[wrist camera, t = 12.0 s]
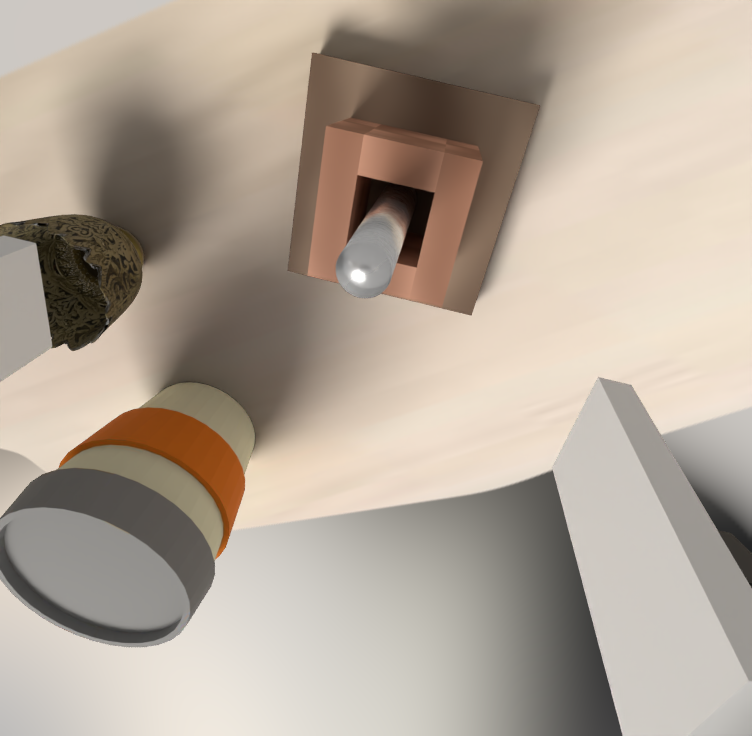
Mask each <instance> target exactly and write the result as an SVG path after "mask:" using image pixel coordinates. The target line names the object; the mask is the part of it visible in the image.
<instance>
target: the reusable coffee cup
mask: <svg viewBox="0 0 752 736" xmlns="http://www.w3.org/2000/svg"><path fill="white" fill-rule="evenodd" d="M254 445H255V432H254V427H253V424H252V422H251V420H250V417H249V416H248V414H247V413H246V411H245V410H244V409H243V408H242V407H241V405H240V404H239V403H238V402H237V401H236V400H234V399H233V398H232V397H230V396H229V395H228V394H226V393H224V392H223V391H221V390H219V389H217V388H214V387H212V386H209V385H205V384H201V383H194V382H184V383H177V384H174V385H172V386H169V387H167V388H166V389H164V390H163V391H161V392H160V393H159V394H157V395H156V396H155V397H153V398H152V399H150V400H149V401H148V402H146V403H145V404H144V405H142V406H141V407H140V408H138V409H133V410H131V411H128V412H125V413H123V414H121V415H120V416H118V417H117V418H115V419H114V420H112V421H111V422H110V423H108V424H107V425H106V426H104V427H103V428H101V429H100V430H99V431H97V432H96V433H95V434H93V435H92V436H90V437H89V438H88V439H86V440H85V441H84V442H82V443H81V444H79V445H78V446H77V447H75V448H74V449H73V450H71V451H70V452H68V453H67V455H66V456H65V457H64V459H63V460H62V461H61V463H60V465H59V468H58V469H57V470H54V471H51V472H48V473H45V474H42V475H41V476H40V477H38V478H36V479H35V480H33V481H32V482H30V484H29V485H28V486H27V487H26V488H25V489H24V491H23V492H22V493H21V494H20V495H19V497H18V498H17V499H16V500H15V501H14V502H13V504H12V505H11V506H10V507H9V508H8V510H7V511H6V512H5V513H4V514H3V516H2V517H1V518H0V579H1V581H2V582H3V583H4V584H5V586H6V587H7V588H8V589H9V590H10V592H11V593H12V594H13V595H14V596H15V597H17V598H18V599H19V600H20V601H21V602H22V603H23V604H24V605H25V606H27V607H28V608H29V609H31V610H32V611H34V612H35V613H37V614H38V615H39V616H41V617H42V618H44V619H46V620H47V621H49V622H51V623H53V624H54V625H56V626H58V627H60V628H62V629H64V630H66V631H68V632H71V633H73V634H75V635H78V636H81V637H84V638H87V639H89V640H92V641H96V642H100V643H105V644H109V645H115V646H123V647H147V646H154V645H159V644H162V643H164V642H167V641H170V640H172V639H173V638H175V637H176V636H177V635H179V634H180V633H181V632H182V630H183V629H184V627H185V626H186V625H187V623H188V622H189V620H190V619H191V617H192V616H193V614H194V613H195V611H196V609H197V608H198V606H199V604H200V603H201V601H202V600H203V598H204V597H205V595H206V593H207V592H208V590H209V589H210V587H211V584H212V582H213V579H214V575H215V562H214V561H215V559H216V558H217V557H219V556H220V554H221V553H222V552H223V550H224V549H225V548H226V545H227V542H228V539H229V536H230V533H231V530H232V527H233V524H234V521H235V518H236V515H237V512H238V509H239V506H240V503H241V500H242V497H243V494H244V490H245V477H244V474H245V471H246V468H247V465H248V463H249V460H250V457H251V454H252V451H253V448H254Z"/></svg>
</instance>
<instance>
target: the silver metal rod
mask: <svg viewBox="0 0 752 736" xmlns="http://www.w3.org/2000/svg"><path fill="white" fill-rule="evenodd" d="M416 203H417V191H416V189H415V188H413V187H408V186H404V185H399V184H395V183H391V182H390V183H389V184H388V185H387V186H386V187H385V189H384V190H383V192H382V193H381V195H380V196H379V197H378V199H377V200H376V202H375V203H374V205H373V206H372V208H371V209H370V211H369V212H368V214H367V215H366V217H365V218H364V220H363V221H362V223H361V224H360V226H359V227H358V229H357V230H356V231H355V233H354V234H353V236H352V237H351V239H350V240H349V242H348V243H347V245H346V246H345V248H344V249H343V251H342V252H341V254H340V255H339V257H338V259H337V262H336V276H337V279H338V281H339V283H340V285H341V286H342V287H343V289H344V290H345V291H347V292H348V293H350V294H351V295H353V296H356V297H359V298H372V297H375V296H377V295H379V294H381V293H382V292H383V291H384V290H385V289H386V288H387V287H388V285H389V283H390V281H391V278H392V275H393V272H394V269H395V266H396V263H397V260H398V257H399V254H400V251H401V248H402V245H403V242H404V239H405V236H406V233H407V230H408V227H409V224H410V221H411V218H412V215H413V212H414V209H415V206H416Z"/></svg>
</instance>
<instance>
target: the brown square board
mask: <svg viewBox="0 0 752 736" xmlns="http://www.w3.org/2000/svg"><path fill="white" fill-rule="evenodd" d="M539 108H540V105H536V104H532V103H528V102H524V101H519V100H515V99H511V98H506V97H502V96H498V95H494V94H489V93H485V92H481V91H476V90H472V89H468V88H464V87H459V86H455V85H451V84H446V83H442V82H438V81H433V80H429V79H425V78H421V77H416V76H412V75H408V74H403V73H399V72H395V71H391V70H386V69H382V68H378V67H373V66H369V65H365V64H360V63H356V62H352V61H348V60H343V59H339V58H335V57H330V56H326V55H322V54H317V53H312V58H311V67H310V76H309V85H308V94H307V103H306V112H305V121H304V130H303V139H302V148H301V157H300V166H299V174H298V183H297V192H296V201H295V210H294V219H293V228H292V237H291V246H290V255H289V264H288V271H290V272H294V273H298V274H302V275H308V267H309V259H310V251H311V243H312V235H313V227H314V218H315V210H316V202H317V194H318V186H319V178H320V170H321V162H322V154H323V146H324V138H325V130H326V126H327V125H330V124H333V123H336V122H339V121H342V120H345V119H348V118H356V119H360V120H365V121H369V122H373V123H378V124H382V125H387V126H391V127H396V128H400V129H405V130H409V131H414V132H418V133H423V134H427V135H431V136H436V137H440V138H445V139H449V140H454V141H458V142H463V143H467V144H472V145H476V146H478V148H479V151H480V154H481V157H482V160H483V163H482V166H481V170H480V173H479V177H478V181H477V184H476V188H475V191H474V195H473V198H472V202H471V206H470V209H469V213H468V216H467V220H466V223H465V227H464V230H463V234H462V238H461V241H460V245H459V248H458V252H457V255H456V259H455V263H454V266H453V270H452V273H451V277H450V280H449V284H448V287H447V291H446V295H445V298H444V302H443V305H442V307H439V306H435V305H431V304H426V303H422V302H418V301H414V300H410V301H414V302H418V303H422V304H426V305H430V306H434V307H439V308H443V309H447V310H451V311H455V312H459V313H463V314H467V315H472V312H473V309H474V306H475V303H476V300H477V297H478V294H479V291H480V288H481V285H482V282H483V279H484V276H485V273H486V269H487V266H488V263H489V260H490V257H491V254H492V251H493V248H494V245H495V242H496V239H497V236H498V233H499V230H500V227H501V224H502V221H503V218H504V215H505V212H506V208H507V205H508V202H509V199H510V196H511V193H512V190H513V187H514V184H515V181H516V178H517V175H518V172H519V169H520V166H521V163H522V160H523V157H524V154H525V151H526V147H527V144H528V141H529V138H530V135H531V132H532V129H533V126H534V123H535V120H536V117H537V114H538V111H539ZM389 183H390V182H386V181H382V180H377V179H373V178H372V182H371V188H370V193H369V199H368V205H367V210H366V215H367V214H368V212H369V211H370V209H371V208H372V206H373V205H374V203H375V202H376V200H377V199H378V197H379V196H380V195H381V193H382V192H383V190H384V189H385V187H386V186H387V185H388V184H389ZM415 189H416V191H417V203H416V206H415V209H414V212H413V215H412V218H411V221H410V224H409V227H408V230H407V232H412V233H416V234H420V235H424V232H425V228H426V224H427V220H428V216H429V212H430V207H431V203H432V199H433V195H434V192H430V191H426V190H421V189H417V188H415ZM365 217H366V216H365ZM327 281H328V280H327ZM331 282H332V281H331ZM335 283H336V282H335ZM381 294H384V293H381ZM385 295H388V294H385ZM389 296H392V295H389ZM393 297H396V296H393ZM397 298H401V297H397ZM401 299H405V298H401ZM406 300H409V299H406Z"/></svg>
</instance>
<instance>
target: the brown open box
mask: <svg viewBox="0 0 752 736" xmlns="http://www.w3.org/2000/svg"><path fill="white" fill-rule="evenodd" d="M482 163H483V160H482V157H481V154H480V151H479V148H478V146H476V145H472V144H467V143H463V142H458V141H454V140H449V139H445V138H440V137H436V136H431V135H427V134H423V133H418V132H414V131H409V130H405V129H400V128H396V127H391V126H387V125H382V124H378V123H373V122H369V121H365V120H360V119H356V118H348V119H345V120H342V121H339V122H336V123H333V124H330V125H327V126H326V130H325V138H324V146H323V154H322V162H321V170H320V178H319V186H318V194H317V202H316V210H315V218H314V227H313V235H312V243H311V251H310V259H309V267H308V275H307V276H311V277H315V278H319V279H323V280H328V281H332V282H336V283H339V281H338V279H337V276H336V262H337V259H338V257H339V255H340V254H341V252H342V251H343V249H344V248H345V246H346V245H347V243H348V242H349V240H350V239H351V237H352V236H353V234H354V233H355V231H356V230H357V229H358V227H359V226H360V224H361V223H362V221H363V220H364V218H365V216H366V210H367V205H368V199H369V193H370V188H371V182H372V178H373V179H377V180H382V181H386V182H391V183H395V184H399V185H404V186H408V187H413V188H417V189H421V190H426V191H430V192H434V195H433V199H432V203H431V207H430V212H429V216H428V220H427V224H426V228H425V232H424V235H420V234H416V233H412V232H407V233H406V236H405V239H404V242H403V245H402V248H401V251H400V254H399V257H398V260H397V263H396V266H395V269H394V272H393V275H392V278H391V281H390V283H389V285H388V287H387V288H386V289H385V290H384V291H383V292H382V293H384V294H388V295H392V296H396V297H401V298H405V299H409V300H414V301H418V302H422V303H426V304H431V305H435V306H439V307H442V305H443V302H444V298H445V295H446V291H447V287H448V284H449V280H450V277H451V273H452V270H453V266H454V263H455V259H456V255H457V252H458V248H459V245H460V241H461V238H462V234H463V230H464V227H465V223H466V220H467V216H468V213H469V209H470V206H471V202H472V198H473V195H474V191H475V188H476V184H477V181H478V177H479V173H480V170H481V166H482Z"/></svg>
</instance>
